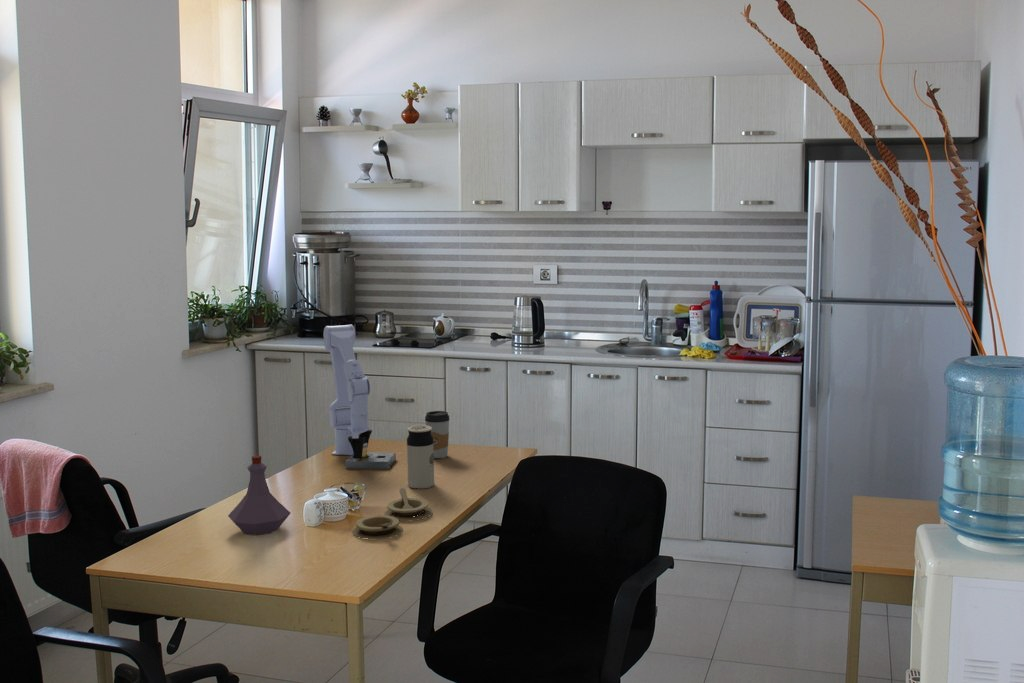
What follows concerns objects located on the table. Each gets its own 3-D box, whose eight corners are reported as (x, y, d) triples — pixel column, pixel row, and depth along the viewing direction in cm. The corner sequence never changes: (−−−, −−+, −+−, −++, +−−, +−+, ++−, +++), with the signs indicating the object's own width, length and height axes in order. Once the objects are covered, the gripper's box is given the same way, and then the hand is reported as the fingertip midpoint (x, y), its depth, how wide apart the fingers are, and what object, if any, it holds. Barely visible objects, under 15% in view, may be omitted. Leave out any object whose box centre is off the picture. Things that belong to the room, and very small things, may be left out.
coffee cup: (422, 458, 345) (420, 415, 343) (431, 452, 353) (430, 410, 351) (445, 460, 343) (444, 416, 341) (454, 454, 351) (453, 411, 349)
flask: (266, 516, 285) (262, 446, 283) (304, 527, 275) (301, 455, 272) (215, 531, 273) (211, 458, 270) (253, 544, 263) (249, 468, 260)
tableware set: (389, 506, 296) (389, 485, 295) (450, 513, 289) (450, 492, 288) (333, 537, 269) (332, 516, 268) (398, 547, 262) (398, 524, 261)
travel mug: (403, 487, 312) (401, 429, 309) (417, 480, 319) (415, 424, 316) (425, 490, 308) (423, 431, 306) (439, 483, 315) (437, 426, 313)
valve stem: (361, 461, 343) (360, 441, 342) (370, 463, 340) (369, 442, 339) (353, 464, 339) (352, 443, 338) (362, 466, 337) (361, 445, 336)
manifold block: (354, 459, 346) (354, 452, 346) (395, 459, 345) (395, 452, 344) (345, 468, 334) (345, 461, 334) (387, 469, 333) (387, 461, 333)
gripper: (352, 409, 345) (354, 449, 347) (342, 419, 331) (343, 460, 333) (373, 409, 344) (374, 449, 346) (363, 419, 330) (365, 460, 332)
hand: (360, 454), depth 339 cm, fingers open, 7 cm apart
